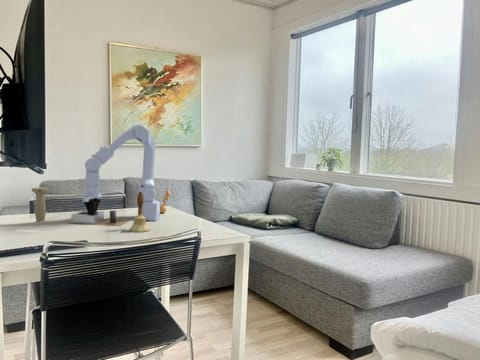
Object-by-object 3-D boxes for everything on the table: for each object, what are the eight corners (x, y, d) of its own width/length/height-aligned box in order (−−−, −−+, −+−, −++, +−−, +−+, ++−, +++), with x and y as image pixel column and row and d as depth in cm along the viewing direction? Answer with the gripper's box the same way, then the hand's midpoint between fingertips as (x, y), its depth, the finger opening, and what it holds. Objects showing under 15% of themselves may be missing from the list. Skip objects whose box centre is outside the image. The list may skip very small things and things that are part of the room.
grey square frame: (103, 219, 178) (104, 211, 178) (94, 224, 168) (94, 215, 168) (82, 218, 179) (82, 210, 178) (71, 222, 169) (71, 214, 168)
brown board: (130, 222, 179) (130, 209, 179) (120, 228, 166) (120, 214, 166) (82, 219, 180) (82, 206, 180) (68, 225, 167) (68, 211, 167)
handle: (48, 223, 170) (48, 188, 168) (31, 224, 167) (31, 188, 166) (49, 221, 174) (49, 187, 173) (32, 222, 172) (32, 187, 170)
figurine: (156, 211, 208) (157, 188, 207) (167, 211, 211) (168, 188, 210) (160, 214, 201) (161, 190, 200) (172, 214, 204) (172, 190, 202)
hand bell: (127, 228, 167) (128, 190, 166) (147, 227, 171) (148, 190, 169) (131, 232, 160) (131, 193, 158) (151, 231, 163) (152, 193, 162)
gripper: (90, 183, 184) (90, 212, 185) (75, 186, 169) (75, 218, 171) (105, 184, 183) (105, 213, 185) (92, 187, 169) (92, 219, 170)
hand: (92, 215), depth 178 cm, fingers closed on grey square frame, 2 cm apart
